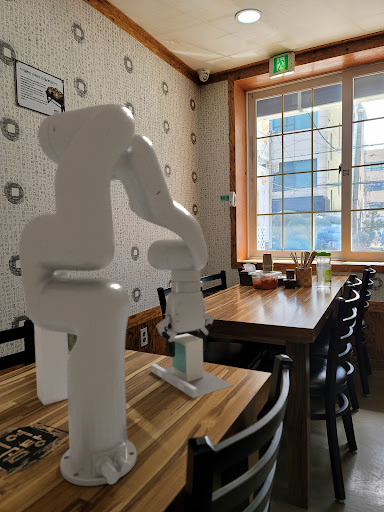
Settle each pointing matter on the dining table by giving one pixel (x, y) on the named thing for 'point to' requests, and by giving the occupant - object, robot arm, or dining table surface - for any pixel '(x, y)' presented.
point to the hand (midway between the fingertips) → (186, 352)
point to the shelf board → (191, 382)
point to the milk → (51, 365)
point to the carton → (188, 357)
